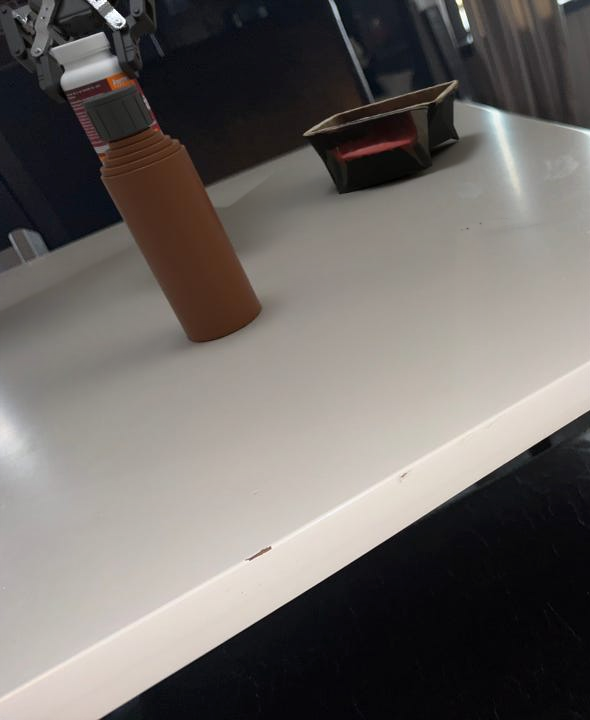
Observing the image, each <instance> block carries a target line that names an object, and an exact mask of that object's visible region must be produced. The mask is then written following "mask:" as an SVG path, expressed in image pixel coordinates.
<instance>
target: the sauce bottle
mask: <svg viewBox="0 0 590 720" xmlns="http://www.w3.org/2000/svg"><path fill="white" fill-rule="evenodd" d="M161 131H162V130H161ZM161 131H154V130H153V128H152V127H151V126H148V127H146V128H144V129H142V130H139V131H137V132H134V133H132V134H129V135H126V136H124V137H121V138H117V139H114V140H110V141H108V142H107V144H108V146H109V148H108V149H107V150H106V151H105V154H106V156H107V157H105V158H104V159H103V160H102V161H103V163H104V165H101V167H100V169H99V171H100V173H101V175H100V179H101V181H102V183H103V185H104V187H105V188H106V190H107V192H108V194H109V196H110V198H111V199H112V202H113V204H114V205H115V207H116V209H117V210H118V213H119V215H120V216H121V218H122V220H123V222H124V224H125V225H126V228H127V229H128V230H129V232H130V234H131V237H132V238H133V240H134V242H135V243H136V245H137V247H138V249H139V251H140V254H141V255H142V256H143V258H144V260H145V263H147V265H148V267H149V269H150V271H151V273H152V275H153V276H154V278H155V280H156V282H157V284H158V285H159V287H160V289H161V291H162V293H163V295H164V297H165V299H166V300H167V302H168V304H169V306H170V308H171V309H172V311H173V313H174V315H175V317H176V319H177V320H178V323H179V324H180V326H181V328H182V330H183V332H184V333H185V335H186V338H188V340H190V341H192V342H197V343H203V342H209V341H213V340H216V339H219V338H222V337H225V336H228V335H230V334H232V333H235V332H236V331H238V330H241V329H242V328H244V327H245V326H246V325H248V324H249V323H251V322H252V321H253V320H254V319H255V318H256V317H257V316H258V315H259V314H260V312H261V310H262V304H261V302H260V301H259V300H260V299H259V298H258V296H257V294H256V291H255V290H254V288H253V285H252V284H251V281H250V279H249V278H248V275H247V273H246V271H245V269H244V267H243V265H242V262H241V261H240V258H239V257H238V256H239V255H238V254H237V252H236V250H235V248H234V245H233V244H232V242H231V240H230V237H229V236H228V233H227V231H226V229H225V227H224V225H223V224H222V223H223V222H222V221H221V219H220V217H219V215H218V213H217V211H216V209H215V207H214V205H213V202H212V200H211V198H210V196H209V194H208V192H207V189H206V188H205V185H204V184H203V181H202V180H201V177H200V175H199V173H198V171H197V169H196V167H195V164H194V162H193V160H192V159H191V156H190V154H189V151H187V148H186V146H185V145H184V144H181V142H180V140H179V139H178V138H177V139H176V138H172V137H171V136H170V135H169V134H163V135H162V133H163V132H162V133H161ZM103 163H102V164H103Z"/></svg>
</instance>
